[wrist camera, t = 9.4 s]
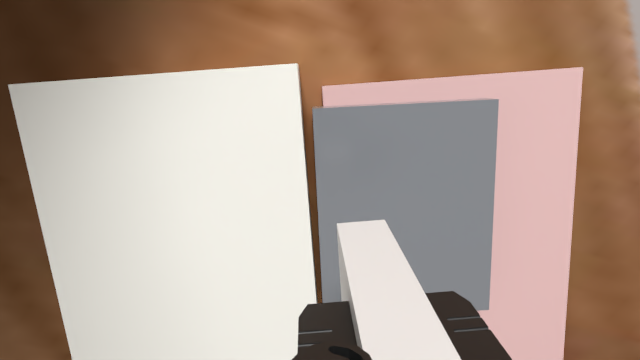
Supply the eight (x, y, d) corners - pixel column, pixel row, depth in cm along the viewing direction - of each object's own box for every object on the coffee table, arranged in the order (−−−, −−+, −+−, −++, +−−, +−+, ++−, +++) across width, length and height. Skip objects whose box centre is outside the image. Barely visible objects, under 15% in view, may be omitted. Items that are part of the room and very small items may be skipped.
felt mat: (321, 86, 19) (322, 86, 19) (577, 67, 19) (583, 67, 19) (342, 382, 23) (342, 387, 22) (558, 365, 23) (562, 370, 23)
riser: (38, 84, 19) (7, 84, 17) (298, 65, 19) (297, 63, 17) (96, 351, 22) (76, 377, 20) (320, 335, 22) (321, 359, 20)
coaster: (312, 106, 19) (312, 108, 18) (484, 98, 19) (498, 99, 18) (322, 302, 21) (323, 319, 20) (477, 294, 21) (489, 309, 20)
